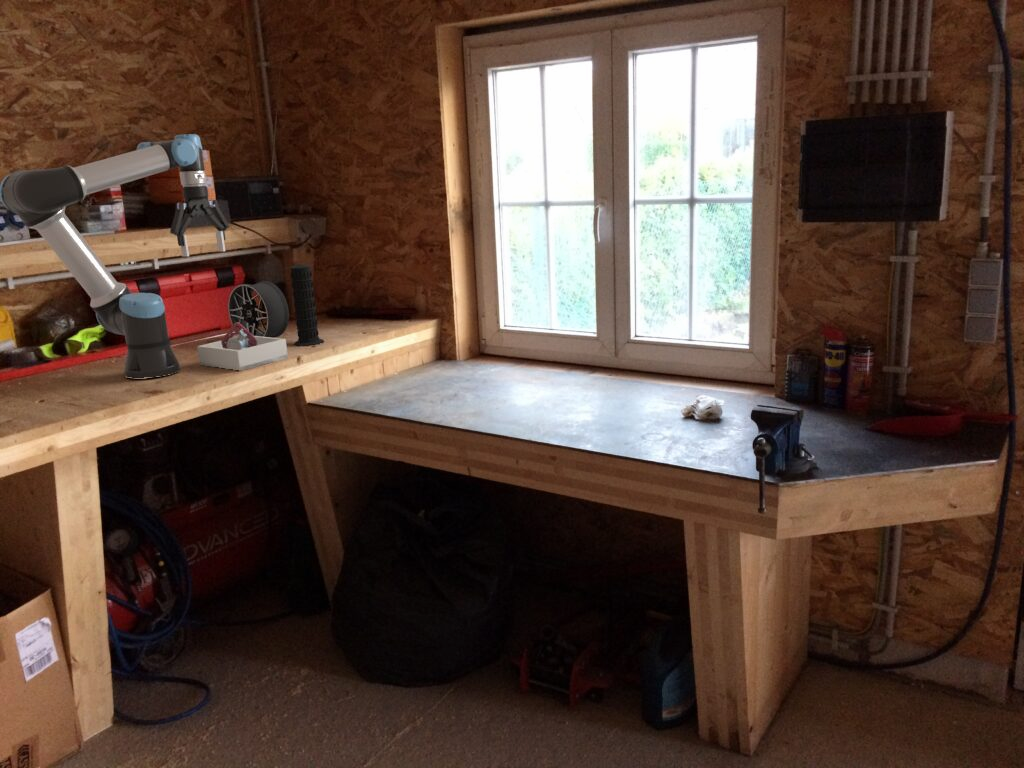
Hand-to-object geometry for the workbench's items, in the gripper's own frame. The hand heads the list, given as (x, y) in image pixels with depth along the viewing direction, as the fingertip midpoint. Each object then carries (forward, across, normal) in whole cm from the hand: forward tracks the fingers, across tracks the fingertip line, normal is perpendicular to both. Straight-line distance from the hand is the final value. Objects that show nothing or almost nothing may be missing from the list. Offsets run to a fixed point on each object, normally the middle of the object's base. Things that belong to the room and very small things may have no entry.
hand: (204, 253), depth 274 cm
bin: (+32, -8, -23) cm, 40 cm away
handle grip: (+32, +20, -21) cm, 43 cm away
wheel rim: (+32, +18, 0) cm, 37 cm away
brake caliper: (+31, -8, -23) cm, 39 cm away
